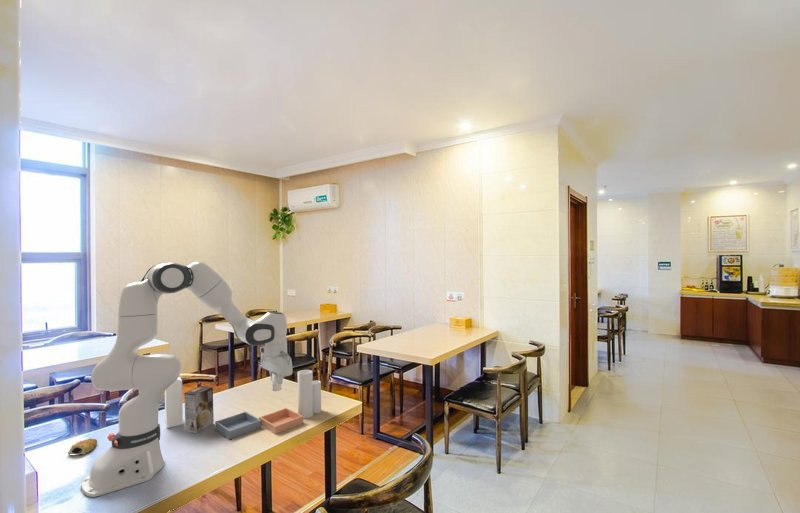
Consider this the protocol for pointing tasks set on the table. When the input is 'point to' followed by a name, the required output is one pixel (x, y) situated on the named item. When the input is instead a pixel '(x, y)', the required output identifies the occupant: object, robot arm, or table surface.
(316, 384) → the white double cylinder vase
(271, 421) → the salmon open tray
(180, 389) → the milk
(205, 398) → the coffee box
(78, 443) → the pastry
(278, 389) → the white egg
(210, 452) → the table surface
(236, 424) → the grey-blue open tray
